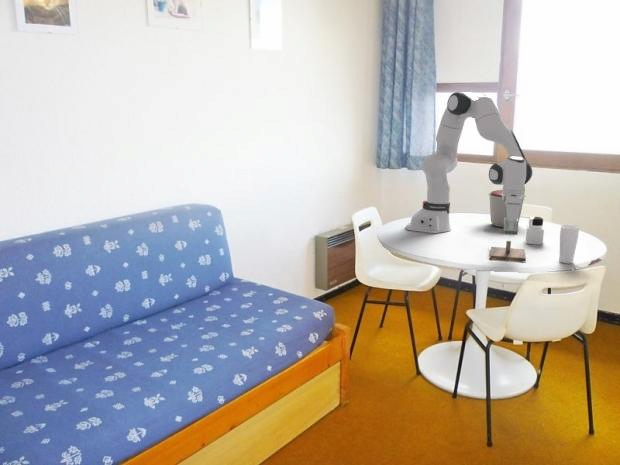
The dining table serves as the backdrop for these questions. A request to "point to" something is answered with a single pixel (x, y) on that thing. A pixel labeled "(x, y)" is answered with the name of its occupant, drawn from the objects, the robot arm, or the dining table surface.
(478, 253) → the dining table surface
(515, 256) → the pin board
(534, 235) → the medicine bottle
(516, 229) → the sleeve
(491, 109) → the robot arm
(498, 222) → the canister
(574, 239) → the drinking glass
